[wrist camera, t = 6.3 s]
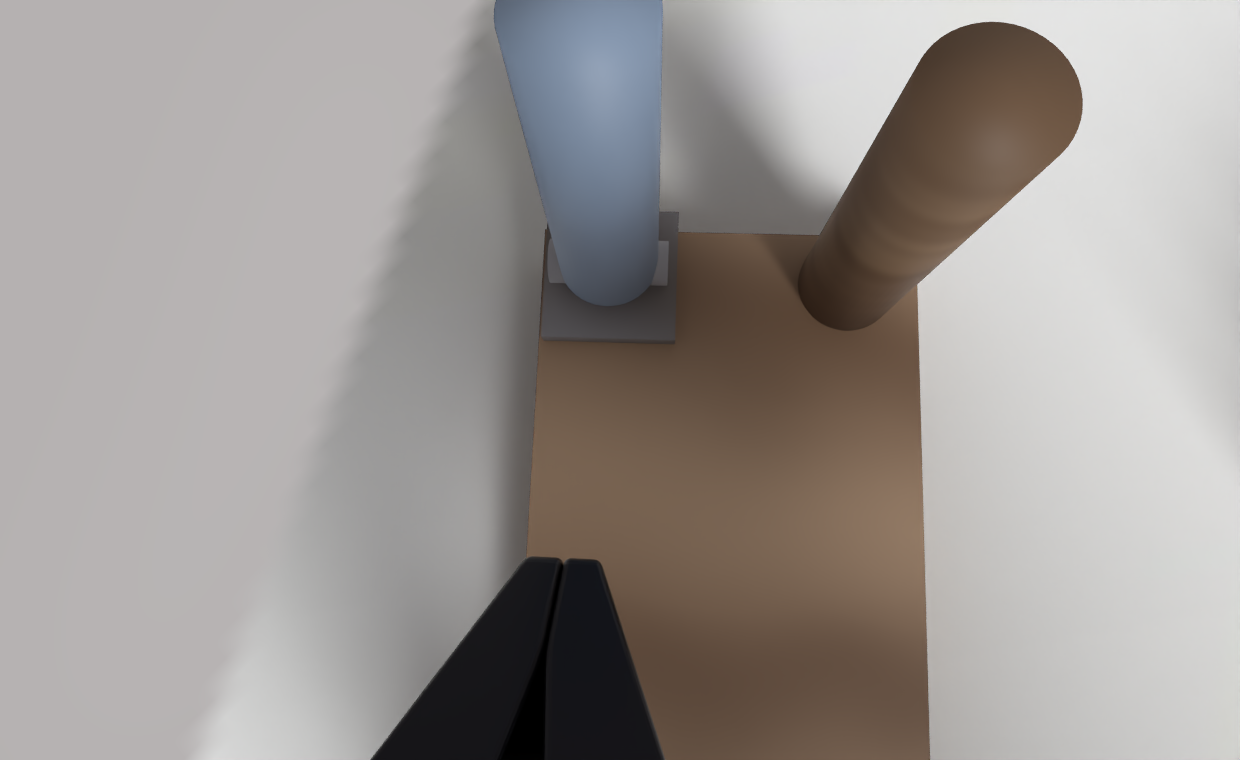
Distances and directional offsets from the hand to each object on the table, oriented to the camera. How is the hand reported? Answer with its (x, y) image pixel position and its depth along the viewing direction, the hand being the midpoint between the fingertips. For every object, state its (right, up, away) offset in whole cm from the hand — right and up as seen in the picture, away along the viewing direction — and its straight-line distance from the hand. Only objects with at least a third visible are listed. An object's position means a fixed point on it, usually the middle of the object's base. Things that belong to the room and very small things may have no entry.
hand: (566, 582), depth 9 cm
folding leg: (0, +5, +8) cm, 9 cm away
